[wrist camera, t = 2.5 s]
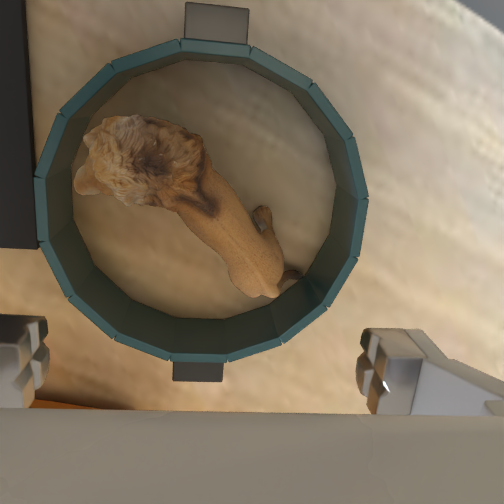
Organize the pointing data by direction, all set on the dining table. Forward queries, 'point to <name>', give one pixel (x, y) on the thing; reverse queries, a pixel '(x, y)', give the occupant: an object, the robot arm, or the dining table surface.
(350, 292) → the dining table surface
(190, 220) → the lion figurine
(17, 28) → the mat
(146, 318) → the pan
